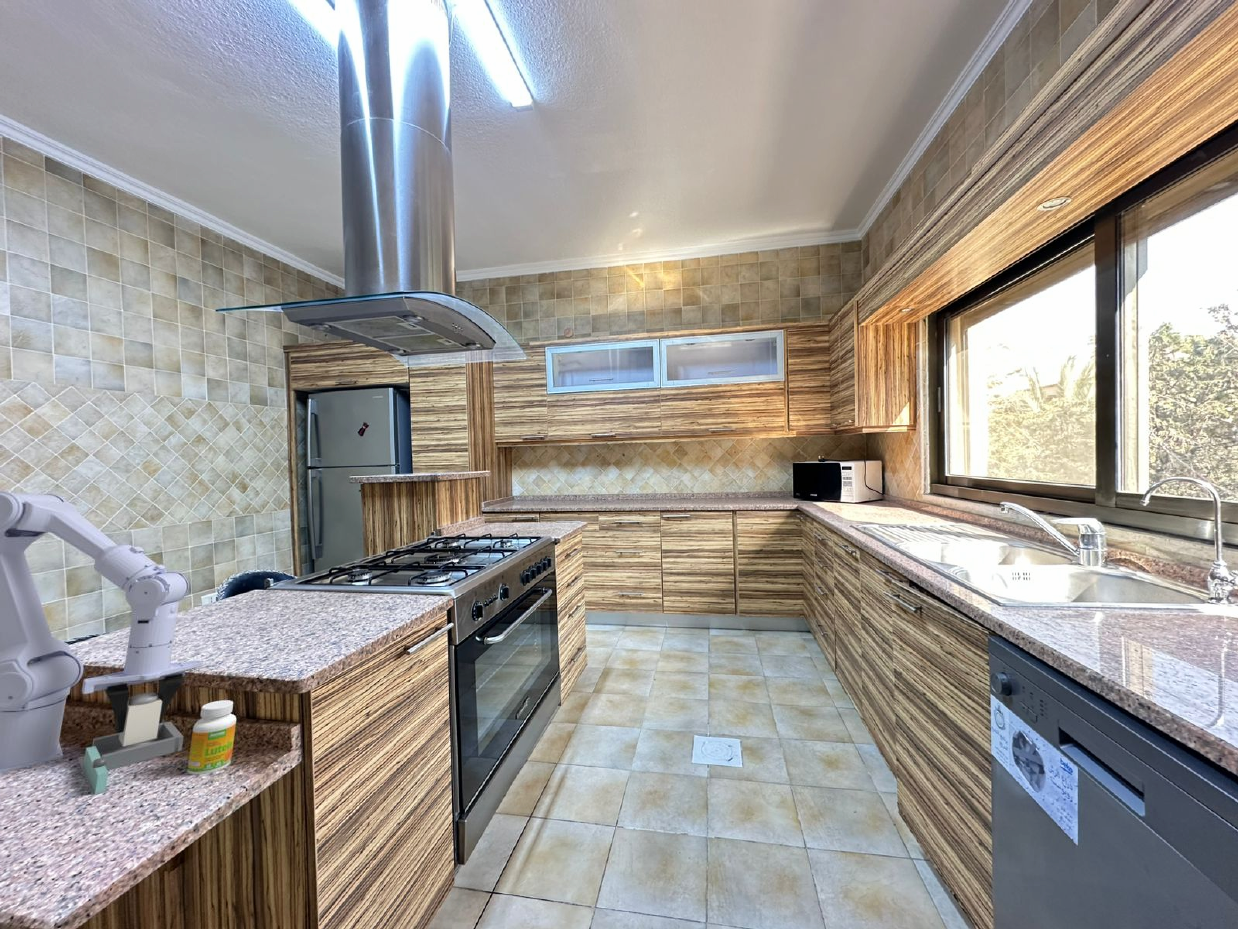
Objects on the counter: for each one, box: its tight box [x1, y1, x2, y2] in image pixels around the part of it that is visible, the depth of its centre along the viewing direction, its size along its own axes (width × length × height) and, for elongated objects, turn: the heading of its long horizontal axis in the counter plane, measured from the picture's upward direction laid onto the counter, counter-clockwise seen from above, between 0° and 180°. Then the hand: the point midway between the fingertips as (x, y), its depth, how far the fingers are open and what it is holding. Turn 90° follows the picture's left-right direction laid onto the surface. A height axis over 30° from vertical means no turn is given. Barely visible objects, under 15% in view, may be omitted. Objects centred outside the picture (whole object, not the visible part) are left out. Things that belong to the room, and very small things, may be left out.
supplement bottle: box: [187, 699, 237, 776], centre depth 77 cm, size 5×5×10 cm
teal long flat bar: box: [83, 746, 109, 795], centre depth 72 cm, size 13×1×3 cm, turn 54°
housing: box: [77, 721, 184, 797], centre depth 77 cm, size 18×11×2 cm, turn 54°
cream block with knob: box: [119, 692, 162, 746], centre depth 80 cm, size 4×4×7 cm
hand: (138, 726), depth 80 cm, fingers closed on cream block with knob, 4 cm apart
